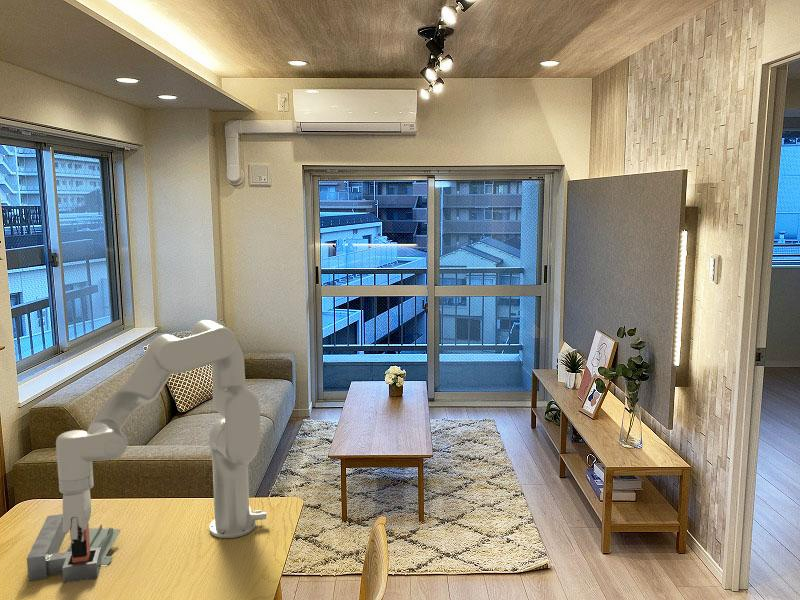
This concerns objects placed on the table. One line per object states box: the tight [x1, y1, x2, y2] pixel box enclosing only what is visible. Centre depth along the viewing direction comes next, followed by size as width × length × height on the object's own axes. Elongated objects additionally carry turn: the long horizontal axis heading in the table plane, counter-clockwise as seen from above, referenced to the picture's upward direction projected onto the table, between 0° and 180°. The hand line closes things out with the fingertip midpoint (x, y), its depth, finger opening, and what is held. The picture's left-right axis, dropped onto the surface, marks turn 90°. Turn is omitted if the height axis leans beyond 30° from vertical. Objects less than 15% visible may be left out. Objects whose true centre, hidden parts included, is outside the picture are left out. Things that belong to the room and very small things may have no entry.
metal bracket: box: [65, 524, 121, 566], centre depth 170 cm, size 14×6×15 cm
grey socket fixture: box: [26, 513, 102, 584], centre depth 168 cm, size 16×25×6 cm, turn 17°
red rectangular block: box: [69, 522, 90, 563], centre depth 159 cm, size 4×4×10 cm
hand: (81, 551), depth 160 cm, fingers closed on red rectangular block, 3 cm apart
